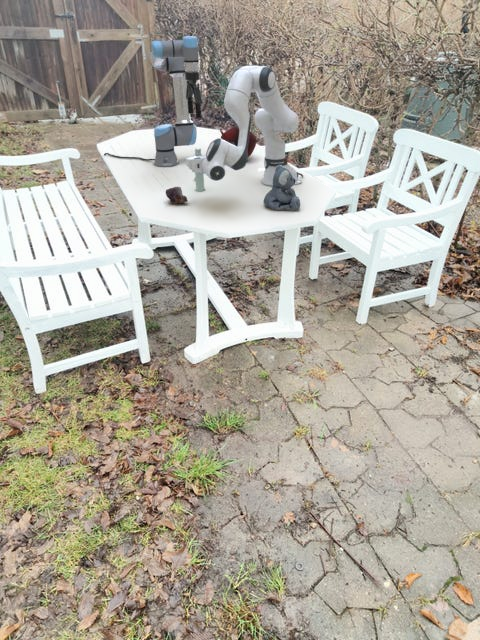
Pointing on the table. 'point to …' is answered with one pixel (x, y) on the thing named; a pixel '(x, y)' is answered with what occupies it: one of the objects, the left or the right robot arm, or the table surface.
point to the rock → (176, 195)
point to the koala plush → (282, 191)
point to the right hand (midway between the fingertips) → (203, 157)
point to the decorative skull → (233, 137)
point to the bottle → (199, 174)
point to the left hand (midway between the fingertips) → (194, 115)
